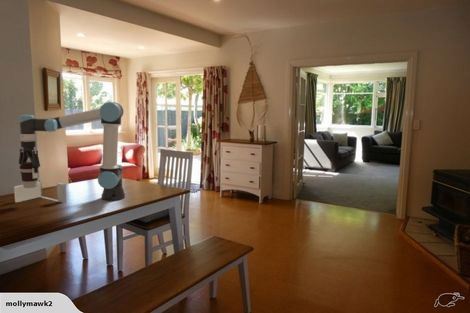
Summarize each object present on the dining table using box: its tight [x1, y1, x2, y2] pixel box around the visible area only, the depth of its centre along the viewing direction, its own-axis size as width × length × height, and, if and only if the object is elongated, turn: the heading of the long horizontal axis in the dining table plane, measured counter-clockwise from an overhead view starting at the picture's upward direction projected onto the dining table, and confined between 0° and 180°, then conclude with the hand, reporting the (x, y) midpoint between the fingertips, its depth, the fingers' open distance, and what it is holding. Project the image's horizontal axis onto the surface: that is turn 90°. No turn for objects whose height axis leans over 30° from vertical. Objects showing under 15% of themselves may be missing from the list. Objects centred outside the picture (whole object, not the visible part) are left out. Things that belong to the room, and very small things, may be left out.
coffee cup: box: [19, 161, 40, 188], centre depth 199 cm, size 10×10×15 cm
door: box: [13, 180, 43, 203], centre depth 211 cm, size 17×3×10 cm, turn 155°
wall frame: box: [37, 178, 67, 204], centre depth 214 cm, size 2×30×12 cm, turn 64°
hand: (29, 177), depth 199 cm, fingers closed on coffee cup, 10 cm apart
